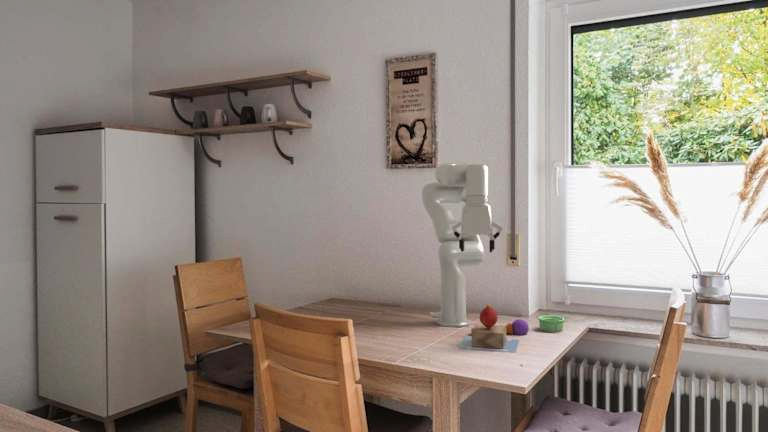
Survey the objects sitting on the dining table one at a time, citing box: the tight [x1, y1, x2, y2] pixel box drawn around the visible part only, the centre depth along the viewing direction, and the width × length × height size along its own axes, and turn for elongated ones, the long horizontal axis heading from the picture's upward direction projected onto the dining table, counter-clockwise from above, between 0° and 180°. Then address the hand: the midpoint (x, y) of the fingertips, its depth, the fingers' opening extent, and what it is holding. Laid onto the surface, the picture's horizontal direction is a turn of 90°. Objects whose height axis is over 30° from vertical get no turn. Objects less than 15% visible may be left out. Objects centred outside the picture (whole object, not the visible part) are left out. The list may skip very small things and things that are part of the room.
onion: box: [479, 304, 499, 329], centre depth 189 cm, size 6×6×8 cm
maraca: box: [470, 318, 530, 336], centre depth 202 cm, size 6×6×20 cm
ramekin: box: [538, 315, 565, 333], centre depth 211 cm, size 9×9×4 cm
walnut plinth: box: [471, 324, 507, 349], centre depth 189 cm, size 10×10×5 cm
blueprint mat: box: [457, 336, 520, 354], centre depth 189 cm, size 18×16×1 cm
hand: (476, 251), depth 196 cm, fingers open, 9 cm apart
